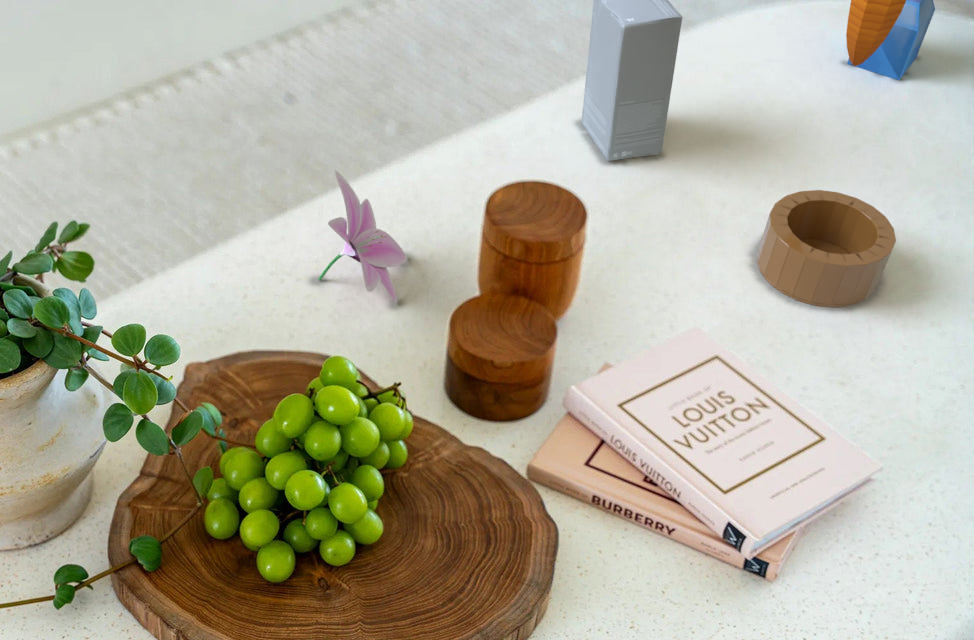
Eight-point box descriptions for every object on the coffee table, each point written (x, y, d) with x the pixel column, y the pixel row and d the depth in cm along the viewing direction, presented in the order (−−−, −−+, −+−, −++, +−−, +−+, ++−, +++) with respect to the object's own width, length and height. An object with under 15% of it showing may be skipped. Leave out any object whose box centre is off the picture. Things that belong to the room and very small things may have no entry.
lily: (351, 351, 103) (407, 275, 97) (253, 266, 104) (303, 187, 98) (404, 306, 113) (457, 234, 107) (314, 229, 113) (362, 154, 108)
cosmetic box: (662, 156, 122) (693, 18, 111) (598, 164, 121) (624, 25, 110) (632, 113, 128) (660, -23, 116) (572, 120, 127) (593, -16, 115)
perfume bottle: (865, 42, 139) (899, -55, 130) (916, 58, 137) (954, -40, 128) (847, 63, 136) (880, -34, 127) (899, 80, 133) (937, -19, 124)
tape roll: (871, 239, 113) (888, 198, 109) (883, 314, 105) (902, 272, 102) (755, 224, 114) (768, 183, 111) (758, 297, 107) (772, 256, 103)
